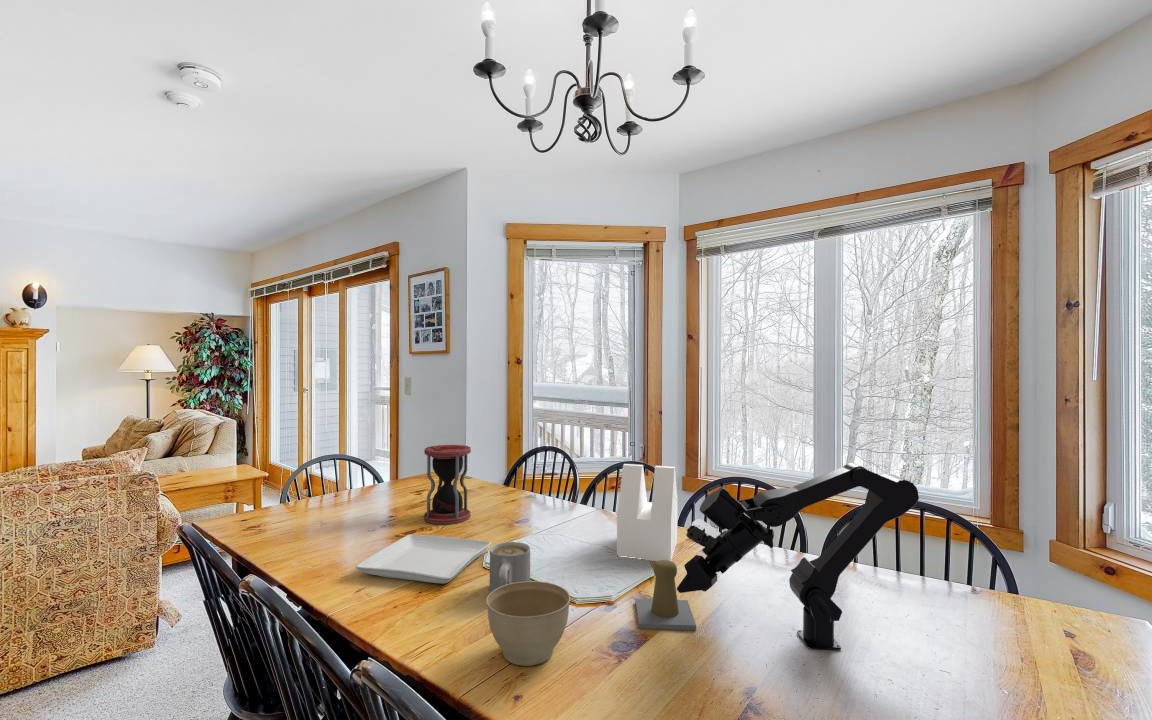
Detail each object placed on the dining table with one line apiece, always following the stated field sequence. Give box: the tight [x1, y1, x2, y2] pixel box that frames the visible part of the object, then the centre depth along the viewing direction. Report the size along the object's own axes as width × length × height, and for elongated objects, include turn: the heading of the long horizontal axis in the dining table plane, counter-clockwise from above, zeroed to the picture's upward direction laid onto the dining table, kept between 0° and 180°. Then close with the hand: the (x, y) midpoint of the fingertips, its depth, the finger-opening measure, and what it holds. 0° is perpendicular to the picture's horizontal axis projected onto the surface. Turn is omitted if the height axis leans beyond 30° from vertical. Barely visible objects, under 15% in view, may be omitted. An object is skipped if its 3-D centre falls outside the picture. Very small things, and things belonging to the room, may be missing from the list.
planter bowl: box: [485, 580, 571, 667], centre depth 104 cm, size 16×16×11 cm
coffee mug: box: [489, 541, 531, 594], centre depth 132 cm, size 13×10×10 cm
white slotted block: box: [616, 463, 678, 562], centre depth 163 cm, size 19×15×25 cm
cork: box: [651, 560, 679, 618], centre depth 120 cm, size 6×6×11 cm
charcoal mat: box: [635, 598, 697, 631], centre depth 120 cm, size 12×12×1 cm
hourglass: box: [423, 444, 472, 525], centre depth 192 cm, size 16×16×25 cm
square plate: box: [354, 533, 492, 585], centre depth 149 cm, size 27×27×4 cm
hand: (686, 583), depth 117 cm, fingers open, 9 cm apart
